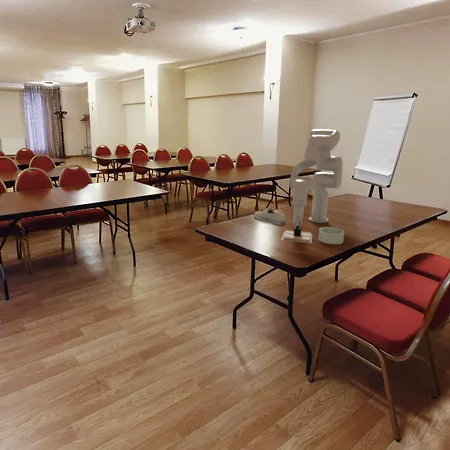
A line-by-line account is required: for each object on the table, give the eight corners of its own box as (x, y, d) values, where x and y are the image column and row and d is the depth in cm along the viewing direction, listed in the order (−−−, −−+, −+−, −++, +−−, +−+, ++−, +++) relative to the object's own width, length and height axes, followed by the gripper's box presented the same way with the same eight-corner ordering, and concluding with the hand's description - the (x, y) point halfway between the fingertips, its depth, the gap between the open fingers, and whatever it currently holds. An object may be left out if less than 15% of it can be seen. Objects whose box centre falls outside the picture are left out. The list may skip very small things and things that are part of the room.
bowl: (318, 236, 208) (319, 226, 207) (342, 238, 205) (343, 228, 204) (318, 243, 196) (318, 232, 195) (343, 246, 193) (344, 235, 192)
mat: (283, 232, 215) (284, 231, 214) (312, 235, 211) (312, 234, 211) (280, 241, 200) (281, 240, 199) (311, 243, 196) (311, 242, 196)
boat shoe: (251, 217, 247) (251, 204, 245) (261, 215, 253) (261, 203, 250) (277, 226, 228) (278, 212, 226) (287, 224, 234) (288, 210, 231)
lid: (285, 231, 213) (286, 222, 212) (310, 234, 210) (311, 224, 208) (283, 239, 200) (283, 229, 199) (309, 241, 197) (310, 231, 195)
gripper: (293, 198, 208) (291, 229, 214) (291, 205, 193) (289, 238, 198) (307, 199, 207) (305, 230, 212) (305, 206, 191) (303, 240, 196)
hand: (297, 234), depth 205 cm, fingers closed on lid, 4 cm apart
